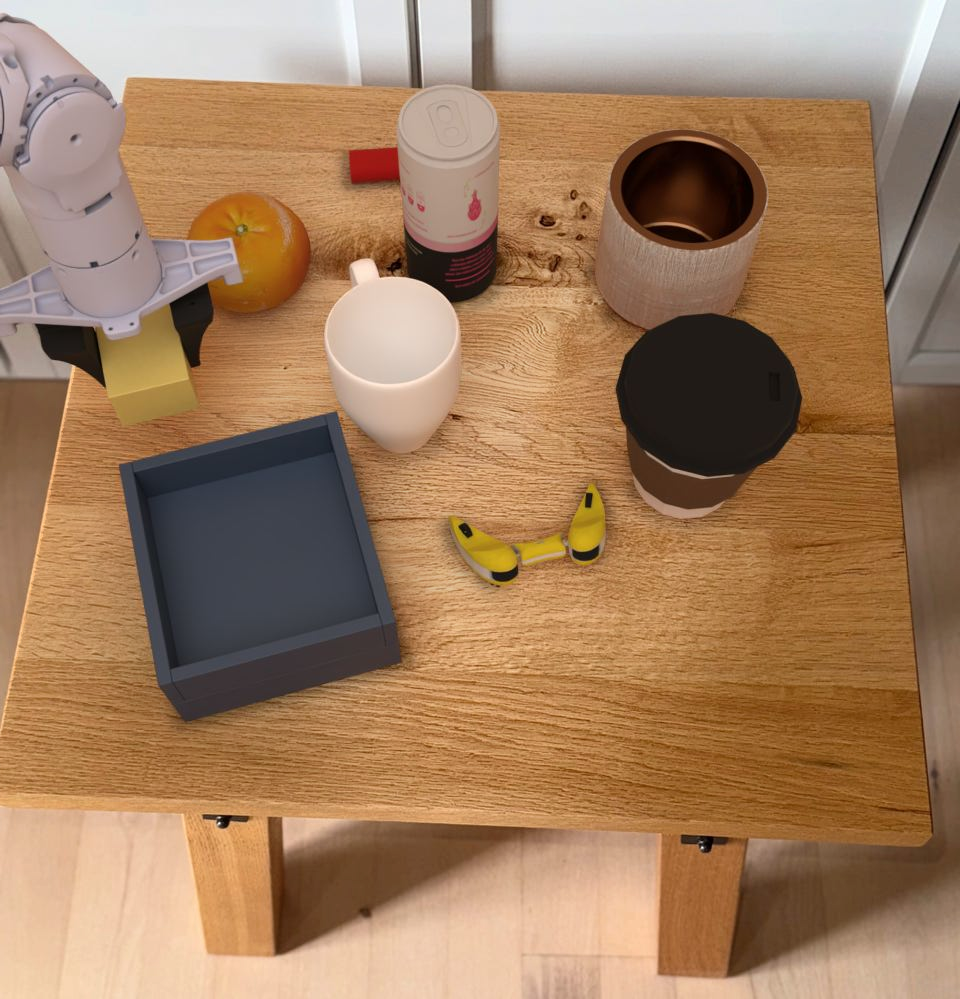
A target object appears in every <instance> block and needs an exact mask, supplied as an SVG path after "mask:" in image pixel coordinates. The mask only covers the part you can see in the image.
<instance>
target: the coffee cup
mask: <svg viewBox="0 0 960 999" xmlns="http://www.w3.org/2000/svg"><path fill="white" fill-rule="evenodd" d="M615 396H616V400H617V404H618V411H619V416H620V421H621V422H622V423H623V425H624V426H625V435H626V451H627V455H628V460H629V466H630V471H631V473H632V479H633V483H634V488H635V489H636V491H637V492H638V493H639V495H640V496H641V498H642V499H643V501H644V502H645V504H647V505H648V506H649V507H651V508H652V509H654V510H656V511H657V512H658V513H660V514H661V515H663V516H667V517H670V518H674V519H678V520H685V519H694V518H695V519H696V518H702V517H705V516H707V515H708V514H710V513H712V512H715V511H716V510H718V509H720V508H721V506H722V505H723V504H724V503H725V502H726V501H727V500H729V499H731V498H733V497H734V495H735V494H736V493H737V492H738V491H739V490H740V488H741V487H742V486H743V485H744V483H745V482H746V481H747V480H748V479H749V478H750V476H751V475H752V474H753V473H754V471H756V469H757V468H758V467H760V466H762V465H764V464H766V463H768V462H770V461H771V460H774V459H775V458H776V457H777V456H778V454H779V453H780V452H781V451H782V450H783V449H784V447H785V445H786V444H787V443H788V442H789V441H790V440H791V438H792V437H793V435H795V432H796V430H797V428H798V423H799V418H800V412H801V408H802V402H803V395H802V391H801V388H800V384H799V380H798V376H797V373H796V370H795V367H794V365H793V364H792V361H791V360H790V358H789V357H788V356H787V355H786V353H785V352H784V351H783V350H782V349H781V347H780V346H779V344H778V343H777V342H776V341H775V340H774V338H773V337H772V336H771V335H768V333H765V332H764V331H762V330H760V329H759V328H758V327H756V326H754V325H752V324H751V323H749V322H748V321H746V320H743V319H741V318H740V319H739V318H735V317H731V316H727V315H725V316H723V315H719V314H714V313H704V314H693V315H682V316H678V317H676V318H674V319H671V320H669V321H667V322H665V323H663V324H661V325H659V326H656V327H654V328H652V329H651V330H647V331H645V332H644V333H643V334H642V335H641V336H640V337H639V338H638V340H637V341H636V342H635V343H634V344H633V345H632V347H631V348H629V350H628V351H627V352H626V353H625V354H624V357H623V360H622V364H621V367H620V371H619V374H618V378H617V381H616V385H615Z"/></svg>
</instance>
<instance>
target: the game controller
mask: <svg viewBox="0 0 960 999" xmlns="http://www.w3.org/2000/svg"><path fill="white" fill-rule="evenodd" d="M575 512H576V513H575V514H574V516H573V519H572V520H571V523H570V525H569V529H568V533H567V539H566V541H564V538H565V537H564V532H563V531H559V532H558V533H556V534H553V535H549V536H548V537H545V538H541V539H537V540H533V541H527V542H518V543H517V542H516V543H513V544H511V545H510V546H509V544H507V543H506V542H504V541H501V540H499V539H496V538H494V537H493V536H491V535H488V534H486V533H484V532H483V531H481V530H480V529H477V528H476V527H474V526H472V525H470V524H469V523H467V522H465V521H463V520H461V519H460V518H458V517H457V516H454V515H450V516H448V524H449V532H450V534H451V537H452V540H453V542H454V544H455V546H456V548H457V551H458V552H459V554H460V556H461V557H462V558H463V560H464V561H465V563H466V564H467V565H468V567H469V568H470V569H471V570H472V571H473V572H474V573H475V574H476V575H477V576H478V577H480V578H481V579H482V580H484V581H486V582H487V583H489V584H490V586H495V587H496V588H498V589H499V588H500V587H505V586H509V585H512V584H514V583H515V581H516V580H517V579H518V577H519V575H520V574H519V572H520V571H519V561H520V565H521V566H522V567H529V566H533V565H537V564H540V563H544V562H545V563H546V562H549V561H552V560H558V559H561V558H564V557H565V556H566V555H567V549H568V554H569V557H570V559H571V560H572V561H573V563H575V564H577V565H579V566H589V565H591V564H593V563H595V562H596V561H597V560H598V559H599V558H600V557H601V555H602V554H603V551H604V550H605V546H606V541H607V525H606V513H605V512H606V511H605V507H604V504H603V501H602V498H601V495H600V492H599V490H598V489H597V487H596V485H595V482H594V481H589V482H588V484H587V489H586V491H585V493H584V495H583V498H582V500H581V502H580V504H579V506H578V508H577V510H576V511H575ZM566 547H567V548H566ZM518 559H519V560H518Z"/></svg>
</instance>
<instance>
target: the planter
mask: <svg viewBox="0 0 960 999" xmlns="http://www.w3.org/2000/svg"><path fill="white" fill-rule="evenodd" d="M768 204H769V188H768V183H767V179H766V177H765V175H764V173H763V170H762V169H761V167H760V165H758V162H756V160H755V159H754V157H753V156H751V155H750V153H748V152H747V151H746V150H745V149H743V148H742V147H741V146H739V145H737V144H736V143H734V142H733V141H731V140H729V139H727V138H726V137H723V136H721V135H719V134H715V133H711V132H708V131H704V130H699V129H693V128H692V129H690V128H672V129H664V130H659V131H655V132H652V133H649V134H646V135H644V136H642V137H640V138H638V139H636V140H634V141H632V143H630V144H628V145H627V146H626V147H624V149H623V150H622V151H621V152H620V153H619V155H618V156H617V157H616V158H615V160H614V162H613V163H612V165H611V168H610V170H609V174H608V177H607V183H606V190H605V196H604V204H603V209H602V214H601V222H600V227H599V233H598V239H597V244H596V250H595V258H594V275H595V282H596V285H597V288H598V291H599V292H600V294H601V297H602V298H603V300H604V301H605V302H606V304H607V306H609V307H610V308H611V310H612V311H614V312H615V313H616V314H617V315H618V316H620V317H621V318H622V319H624V320H626V321H627V322H629V323H631V324H633V325H635V326H636V327H639V328H642V329H644V330H647V331H649V330H651V329H652V328H654V327H656V326H659V325H661V324H663V323H665V322H667V321H669V320H671V319H674V318H676V317H678V316H682V315H693V314H704V313H714V314H719V315H723V316H727V315H728V313H730V311H731V310H732V309H733V307H734V306H735V305H736V303H737V302H738V299H739V298H740V296H741V294H742V292H743V288H744V285H745V283H746V279H747V276H748V272H749V269H750V265H751V263H752V262H751V261H752V259H753V255H754V251H755V249H756V245H757V242H758V238H759V235H760V232H761V229H762V226H763V222H764V219H765V216H766V213H767V210H768Z"/></svg>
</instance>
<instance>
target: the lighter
mask: <svg viewBox="0 0 960 999" xmlns="http://www.w3.org/2000/svg"><path fill="white" fill-rule="evenodd" d="M348 157H349V158H348V159H349V175H350V183H351V184H356V183H357V184H358V183H371V182H387V181H388V182H389V181H400V172H399V159H398V147H380V148H366V149H365V148H364V149H349V150H348Z"/></svg>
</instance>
